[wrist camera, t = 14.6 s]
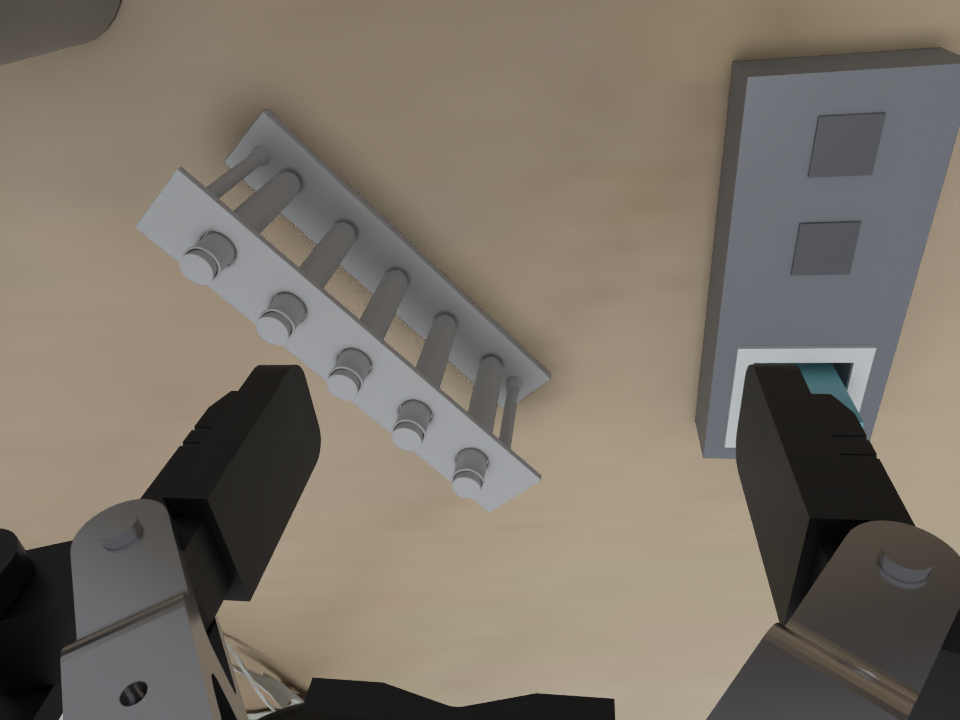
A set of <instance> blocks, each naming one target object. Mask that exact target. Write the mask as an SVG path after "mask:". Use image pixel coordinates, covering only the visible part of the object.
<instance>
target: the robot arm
mask: <svg viewBox="0 0 960 720" xmlns="http://www.w3.org/2000/svg"><path fill="white" fill-rule="evenodd" d="M119 4H120V0H0V65H4V64H7V63H11V62H15V61H18V60H22V59H26V58H30V57H33V56H38V55H42V54H45V53H49V52H53V51H56V50H60V49H64V48H67V47H71V46H75V45H78V44H82V43H85V42H87V41H90V40H93V39H95V38H96V37H97V36H99V35H100V34H101V33H103V32H104V31H105V30H106V29H107V27H108V26H109V25H110V23H111V22H112V21H113V19H114V17H115V15H116V12H117V9H118V7H119ZM194 427H195V430H191V432H190V433H189V434H188V436H187V437H186V439H185V440H184V441H183V446H180V447H179V448H178V449H177V451H176V452H175V453H174V455H173V456H172V457H171V459H170V460H169V461H168V463H167V464H166V465H165V467H164V468H163V469H162V471H161V472H160V473H159V475H158V476H157V477H156V479H155V480H154V481H153V483H152V484H151V485H150V487H149V488H148V489H147V491H146V492H145V493H144V495H143V496H142V497H141V499H137V500H130V501H126V502H122V503H119V504H116V505H114V506H112V507H110V508H107V509H106V510H104V511H102V512H100V513H99V514H97V515H96V516H94V517H93V518H92V519H90V520H89V521H88V522H87V523H86V524H85V525H84V526H83V527H82V528H81V529H80V530H79V531H78V533H77V534H76V536H75V537H74V539H73V540H72V541H68V542H63V543H58V544H54V545H49V546H44V547H40V548H35V549H31V550H25V549H24V547H23V546H22V544H21V543H20V541H19V540H18V538H17V537H16V535H15V534H14V533H13V532H11V531H9V530H6V529H0V720H59V718H60V717H61V715H62V713H63V720H249V718H248V716H247V713H246V710H245V707H244V703H243V700H242V697H241V693H240V690H239V686H238V683H237V680H236V676H235V673H234V669H233V666H232V663H231V659H230V656H229V652H228V649H227V646H226V642H225V639H224V635H223V632H222V629H221V625H220V623H219V621H218V618H217V616H216V614H217V612H218V610H219V608H220V606H221V604H222V602H223V600H233V601H250V600H251V598H252V596H253V594H254V592H255V590H256V588H257V586H258V584H259V582H260V579H261V577H262V575H263V573H264V571H265V569H266V567H267V565H268V563H269V561H270V559H271V557H272V555H273V552H274V550H275V548H276V546H277V544H278V542H279V540H280V538H281V536H282V534H283V532H284V530H285V527H286V525H287V523H288V521H289V519H290V517H291V515H292V513H293V511H294V509H295V507H296V505H297V503H298V500H299V498H300V496H301V494H302V492H303V490H304V488H305V486H306V484H307V482H308V480H309V478H310V475H311V473H312V471H313V469H314V467H315V465H316V463H317V461H318V457H319V453H320V446H321V436H320V429H319V425H318V421H317V418H316V414H315V410H314V407H313V403H312V399H311V396H310V392H309V388H308V385H307V381H306V377H305V374H304V372H303V370H302V368H301V367H300V366H298V365H258V366H257V367H255V368H254V370H253V371H252V372H251V374H250V375H249V377H248V378H247V379H246V381H245V382H244V384H243V385H242V386H241V388H240V389H239V391H231V392H229V393H228V394H227V395H225V396H224V397H222V398H221V399H220V400H218V401H217V402H216V403H214V404H213V405H212V406H210V407H209V408H208V409H207V410H206V412H205V413H204V414H203V416H202V417H201V418H200V420H199V421H198V422H197V424H196V425H195V426H194ZM876 455H877V454H876V452H875V450H874V448H873V446H872V444H871V443H870V441H869V440H867V435H866V433H865V431H864V430H863V428H862V426H861V424H860V422H859V420H858V418H857V416H856V415H855V413H854V412H853V411H851V410H850V409H849V408H848V407H846V406H845V405H844V404H843V403H841V402H840V401H839V400H838V399H837V398H835V397H834V396H833V395H832V394H811V392H810V390H809V388H808V385H807V383H806V381H805V379H804V377H803V375H802V373H801V371H800V369H799V367H798V366H797V365H796V364H751V365H749V366H748V367H747V370H746V374H745V380H744V387H743V393H742V400H741V407H740V414H739V420H738V427H737V434H736V461H737V468H738V472H739V476H740V480H741V483H742V487H743V491H744V494H745V498H746V502H747V505H748V509H749V513H750V516H751V520H752V524H753V527H754V531H755V535H756V538H757V542H758V546H759V549H760V553H761V556H762V560H763V564H764V567H765V571H766V575H767V578H768V582H769V586H770V589H771V593H772V597H773V600H774V604H775V608H776V611H777V615H778V619H779V622H780V623H776V624H774V625H773V626H772V627H771V628H770V629H769V630H768V632H767V633H766V634H765V636H764V637H763V638H762V640H761V641H760V643H759V644H758V646H757V647H756V648H755V650H754V651H753V653H752V654H751V656H750V657H749V659H748V660H747V661H746V663H745V664H744V666H743V667H742V669H741V670H740V671H739V673H738V674H737V676H736V677H735V679H734V680H733V682H732V683H731V684H730V686H729V687H728V689H727V690H726V692H725V693H724V695H723V696H722V697H721V699H720V700H719V702H718V703H717V705H716V706H715V708H714V709H713V710H712V712H711V713H710V715H709V716H708V718H707V719H706V720H960V556H959V555H958V554H957V553H956V552H955V551H954V550H953V549H952V548H951V547H950V546H949V545H948V544H946V543H945V542H944V541H942V540H941V539H939V538H938V537H936V536H934V535H933V534H931V533H929V532H927V531H925V530H923V529H920V528H917V527H915V525H914V523H913V521H912V519H911V517H910V515H909V514H908V512H907V510H906V508H905V506H904V504H903V502H902V501H901V499H900V497H899V495H898V493H897V491H896V489H895V487H894V486H893V484H892V482H891V480H890V478H889V476H888V474H887V473H886V471H885V469H884V467H883V465H882V463H881V461H880V459H877V457H876ZM257 720H615V705H614V699H610V698H595V697H581V696H567V695H552V694H538V693H536V694H530V695H525V696H519V697H514V698H508V699H503V700H497V701H492V702H486V703H481V704H475V705H470V706H464V707H452V706H448V705H445V704H442V703H439V702H436V701H433V700H431V699H428V698H425V697H422V696H419V695H417V694H414V693H411V692H408V691H405V690H402V689H400V688H397V687H394V686H391V685H388V684H385V683H381V682H367V681H352V680H338V679H324V678H312V681H311V684H310V687H309V690H308V692H307V695H306V698H305V701H304V703H298V704H295V705H291V706H288V707H285V708H282V709H279V710H276V711H274V712H272V713H269V714H267V715H265V716H263V717H260V718H259V719H257Z"/></svg>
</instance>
